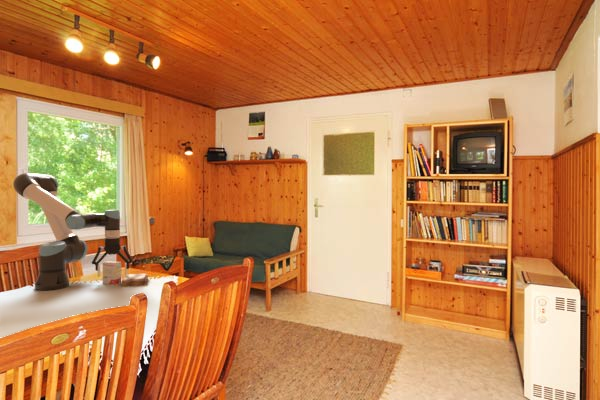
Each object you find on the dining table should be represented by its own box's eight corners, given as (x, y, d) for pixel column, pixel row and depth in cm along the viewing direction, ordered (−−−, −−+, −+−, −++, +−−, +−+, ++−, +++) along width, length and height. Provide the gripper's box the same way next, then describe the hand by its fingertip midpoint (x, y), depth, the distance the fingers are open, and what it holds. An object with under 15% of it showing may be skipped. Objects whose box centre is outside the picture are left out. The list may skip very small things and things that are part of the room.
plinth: (121, 286, 196) (121, 279, 196) (125, 280, 209) (125, 274, 209) (145, 285, 200) (145, 278, 199) (147, 279, 213) (147, 273, 213)
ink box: (121, 282, 204) (122, 261, 204) (115, 284, 199) (115, 263, 199) (108, 281, 206) (108, 260, 206) (102, 283, 201) (102, 262, 201)
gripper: (85, 239, 195) (85, 278, 195) (136, 237, 202) (136, 275, 203) (88, 237, 202) (89, 275, 202) (137, 236, 209) (137, 272, 210)
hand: (112, 275), depth 202 cm, fingers open, 13 cm apart
